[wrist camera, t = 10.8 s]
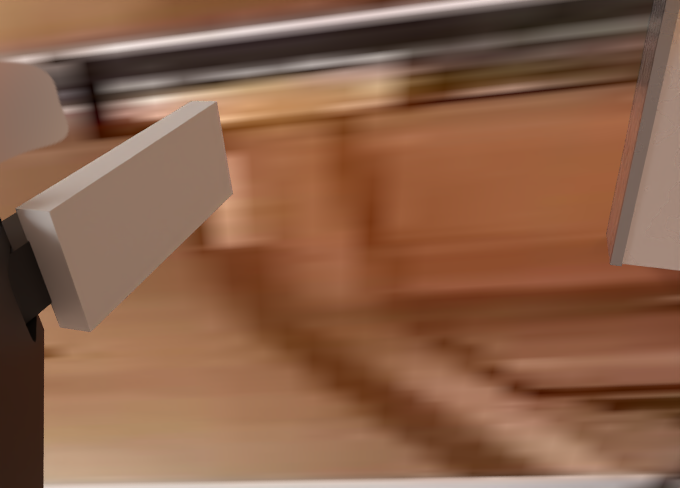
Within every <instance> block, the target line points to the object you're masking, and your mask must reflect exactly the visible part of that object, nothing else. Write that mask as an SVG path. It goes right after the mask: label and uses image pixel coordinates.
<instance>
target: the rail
mask: <svg viewBox="0 0 680 488" xmlns="http://www.w3.org/2000/svg"><path fill="white" fill-rule="evenodd" d="M606 235H607V243H608V252H609V260H610V265H616V266H622V264H630V265H638V266H646V267H655V268H663V269H671V270H679V271H680V0H654V4H653V8H652V13H651V18H650V23H649V28H648V33H647V38H646V43H645V47H644V52H643V57H642V62H641V67H640V72H639V77H638V82H637V87H636V91H635V96H634V101H633V106H632V111H631V116H630V121H629V126H628V131H627V135H626V140H625V145H624V150H623V155H622V160H621V165H620V170H619V174H618V179H617V184H616V189H615V194H614V199H613V204H612V209H611V214H610V218H609V223H608V228H607V233H606Z"/></svg>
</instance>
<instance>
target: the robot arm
mask: <svg viewBox="0 0 680 488" xmlns="http://www.w3.org/2000/svg"><path fill="white" fill-rule="evenodd" d="M232 194H233V191H232V186H231V180H230V174H229V168H228V163H227V157H226V151H225V146H224V140H223V134H222V129H221V123H220V117H219V111H218V106H217V101H191V102H189V103H187V104H186V105H184V106H183V107H181V108H179V109H178V110H176V111H174V112H173V113H171V114H169V115H168V116H166V117H165V118H163V119H161V120H160V121H158V122H156V123H155V124H153V125H151V126H150V127H148V128H147V129H145V130H143V131H142V132H140V133H138V134H137V135H135V136H133V137H132V138H130V139H129V140H127V141H125V142H124V143H122V144H120V145H119V146H117V147H115V148H114V149H112V150H111V151H109V152H107V153H106V154H104V155H102V156H101V157H99V158H97V159H96V160H94V161H93V162H91V163H89V164H88V165H86V166H84V167H83V168H81V169H79V170H78V171H76V172H74V173H73V174H71V175H70V176H68V177H66V178H65V179H63V180H61V181H60V182H58V183H56V184H55V185H53V186H52V187H50V188H48V189H47V190H45V191H43V192H42V193H40V194H38V195H37V196H35V197H34V198H32V199H30V200H29V201H27V202H25V203H24V204H22V205H20V206H19V207H17V208H16V213H15V214H13V215H11V216H10V217H8V218H7V219H5V220H3V221H1V219H0V488H43V457H44V328H43V326H42V323H41V321H40V318H39V316H38V314H39V313H40V312H41V311H42V310H44V309H45V308H46V307H47V306H48V305H49V304H51V305H52V308H53V310H54V313H55V316H56V318H57V321H58V324H59V326H60V327H61V328H68V329H74V330H81V331H87V332H91V331H92V330H93V329H94V328H95V327H96V326H97V325H98V324H99V323H101V322H102V321H103V320H104V319H105V318H106V317H107V316H108V315H109V314H110V313H111V312H112V311H113V310H114V309H115V308H116V307H117V306H118V305H119V304H120V303H121V302H122V301H123V300H124V299H125V298H126V297H127V296H128V295H129V294H130V293H131V292H132V291H133V290H134V289H135V288H136V287H138V286H139V285H140V284H141V283H142V282H143V281H144V280H145V279H146V278H147V277H148V276H149V275H150V274H151V273H152V272H153V271H154V270H155V269H156V268H157V267H158V266H159V265H160V264H161V263H162V262H163V261H164V260H165V259H166V258H167V257H168V256H169V255H170V254H171V253H172V252H173V251H175V250H176V249H177V248H178V247H179V246H180V245H181V244H182V243H183V242H184V241H185V240H186V239H187V238H188V237H189V236H190V235H191V234H192V233H193V232H194V231H195V230H196V229H197V228H198V227H199V226H200V225H201V224H202V223H203V222H204V221H205V220H206V219H207V218H208V217H209V216H210V215H212V214H213V213H214V212H215V211H216V210H217V209H218V208H219V207H220V206H221V205H222V204H223V203H224V202H225V201H226V200H227V199H228V198H229V197H230V196H231V195H232Z"/></svg>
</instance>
